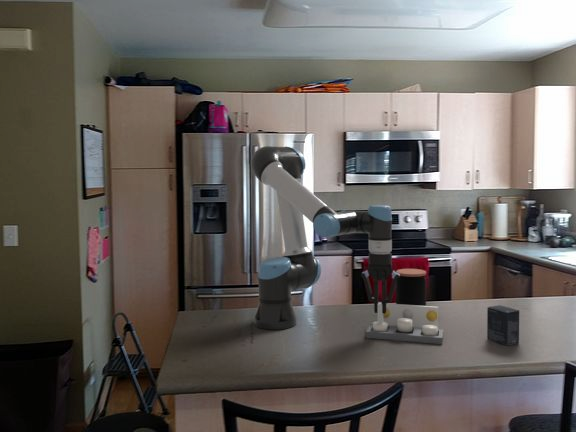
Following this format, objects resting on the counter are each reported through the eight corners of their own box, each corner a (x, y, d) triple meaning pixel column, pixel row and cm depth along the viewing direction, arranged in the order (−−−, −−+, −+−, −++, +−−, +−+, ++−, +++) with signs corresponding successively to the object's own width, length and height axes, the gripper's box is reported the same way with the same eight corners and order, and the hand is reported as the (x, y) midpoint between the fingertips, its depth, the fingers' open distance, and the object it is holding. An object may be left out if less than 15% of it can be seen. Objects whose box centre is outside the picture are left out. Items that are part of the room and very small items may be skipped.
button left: (371, 334, 171) (371, 324, 171) (374, 329, 175) (374, 320, 175) (386, 335, 169) (386, 325, 169) (388, 331, 174) (388, 321, 174)
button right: (421, 338, 166) (421, 328, 165) (422, 333, 170) (422, 324, 170) (437, 339, 164) (437, 329, 164) (438, 335, 169) (438, 325, 168)
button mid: (396, 331, 168) (396, 321, 168) (398, 327, 173) (398, 317, 172) (411, 332, 167) (411, 322, 166) (412, 328, 171) (413, 318, 171)
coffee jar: (423, 316, 193) (423, 268, 192) (428, 324, 183) (428, 274, 181) (394, 315, 194) (394, 268, 193) (397, 324, 184) (397, 274, 182)
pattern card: (378, 326, 182) (378, 303, 181) (379, 325, 183) (379, 302, 182) (437, 330, 175) (438, 307, 174) (438, 329, 176) (438, 306, 176)
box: (519, 343, 162) (520, 310, 161) (506, 346, 159) (507, 312, 158) (499, 336, 169) (499, 304, 168) (486, 339, 166) (486, 306, 165)
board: (365, 337, 169) (365, 331, 169) (370, 329, 178) (370, 323, 178) (442, 344, 162) (442, 337, 162) (443, 335, 170) (443, 329, 170)
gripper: (358, 253, 169) (358, 324, 171) (398, 254, 164) (398, 327, 166) (362, 250, 176) (363, 318, 178) (401, 251, 172) (401, 321, 173)
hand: (380, 322), depth 172 cm, fingers closed
